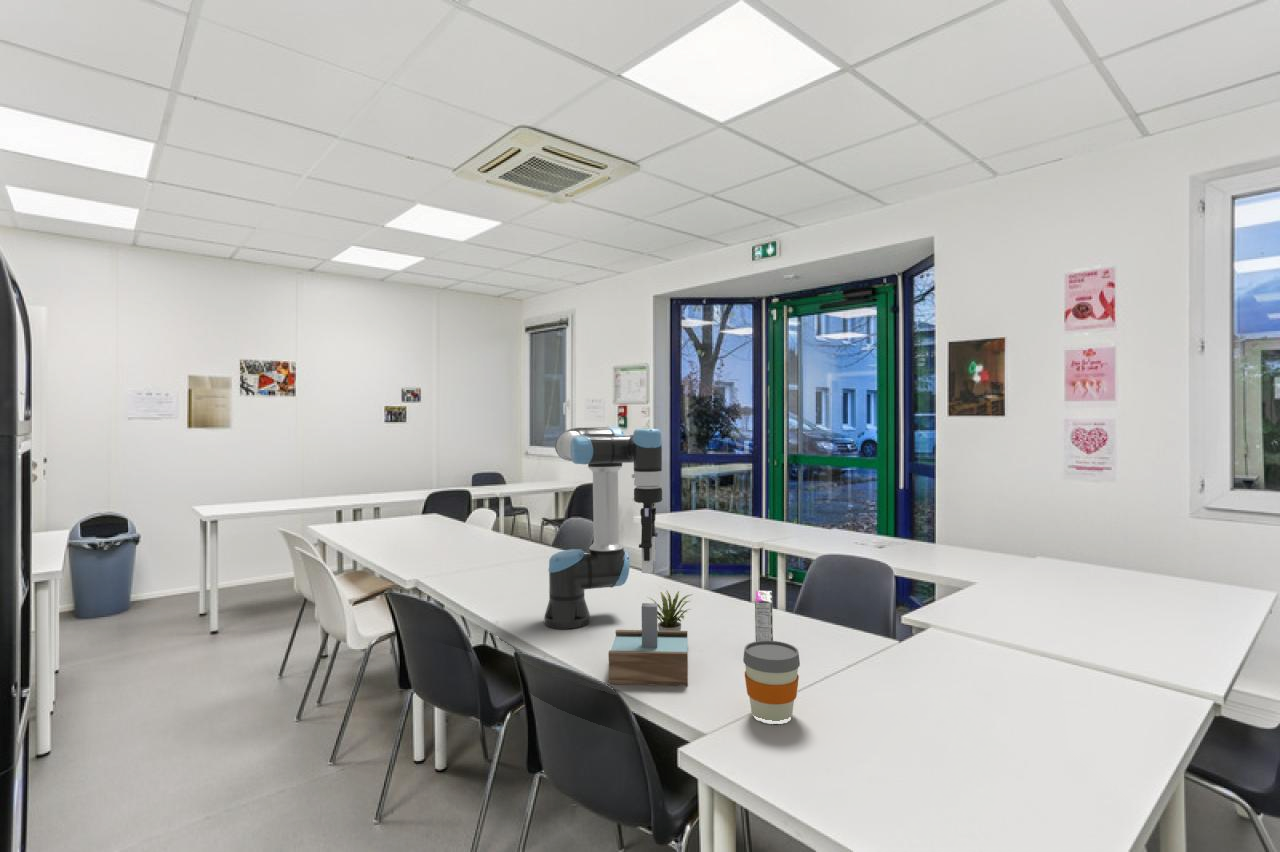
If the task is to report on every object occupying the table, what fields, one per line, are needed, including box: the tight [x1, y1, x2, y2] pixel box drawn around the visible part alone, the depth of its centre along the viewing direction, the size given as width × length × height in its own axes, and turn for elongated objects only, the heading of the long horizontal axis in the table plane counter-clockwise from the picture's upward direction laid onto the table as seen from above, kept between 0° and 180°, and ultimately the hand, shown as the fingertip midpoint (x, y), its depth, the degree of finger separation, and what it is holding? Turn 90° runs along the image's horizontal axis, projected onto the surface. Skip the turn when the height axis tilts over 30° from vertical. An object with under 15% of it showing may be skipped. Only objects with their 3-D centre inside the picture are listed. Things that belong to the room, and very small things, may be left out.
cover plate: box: [610, 602, 689, 657], centre depth 169 cm, size 15×20×12 cm
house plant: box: [647, 589, 694, 631], centre depth 188 cm, size 14×14×16 cm
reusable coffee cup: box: [743, 640, 801, 721], centre depth 144 cm, size 13×13×15 cm
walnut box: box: [608, 629, 689, 687], centre depth 169 cm, size 17×20×8 cm
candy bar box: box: [754, 590, 774, 642], centre depth 182 cm, size 11×5×16 cm, turn 168°
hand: (648, 566), depth 168 cm, fingers open, 13 cm apart
